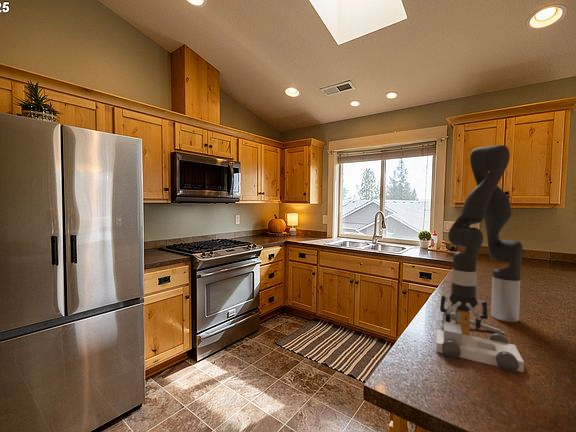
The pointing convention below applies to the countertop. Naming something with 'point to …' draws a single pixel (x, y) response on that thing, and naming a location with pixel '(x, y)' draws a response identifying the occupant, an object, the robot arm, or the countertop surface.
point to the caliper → (473, 323)
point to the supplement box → (463, 321)
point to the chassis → (479, 348)
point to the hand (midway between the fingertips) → (462, 326)
